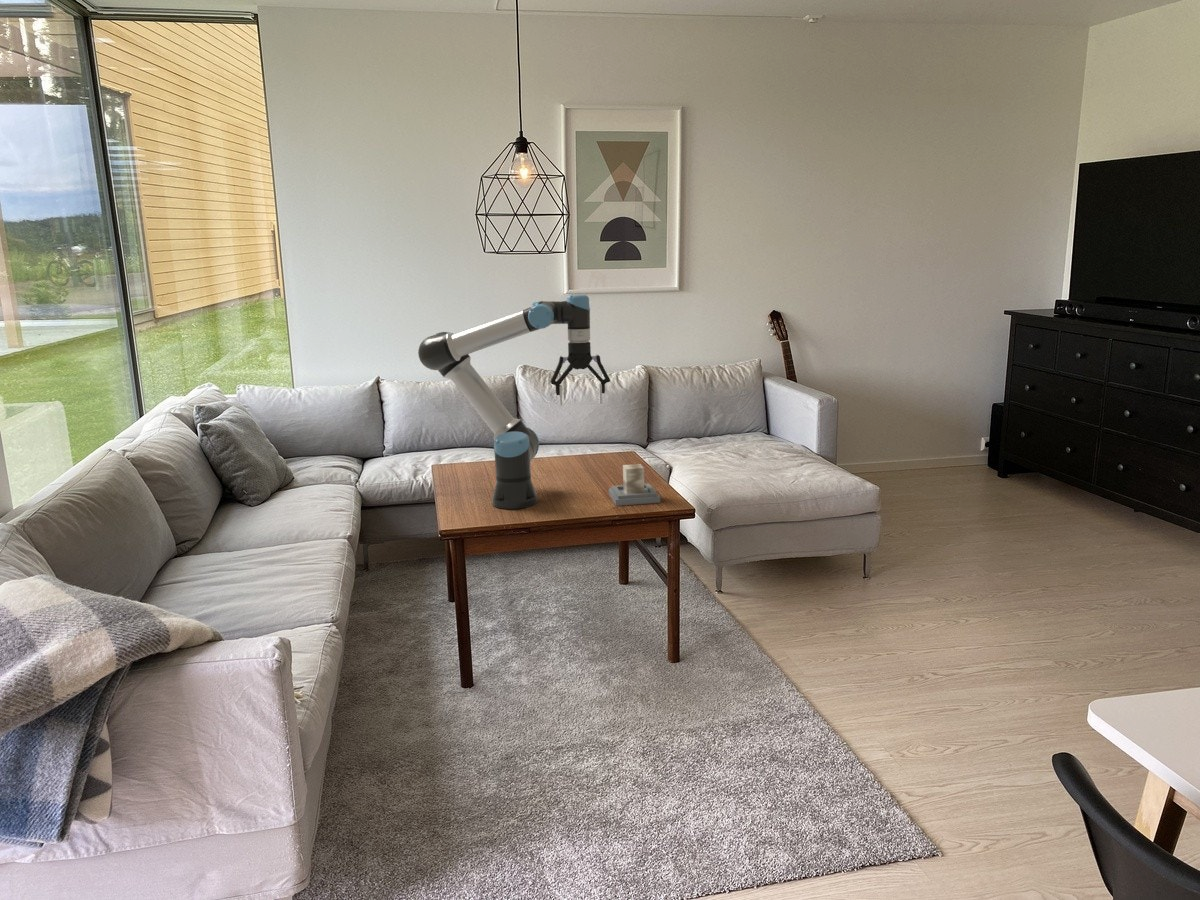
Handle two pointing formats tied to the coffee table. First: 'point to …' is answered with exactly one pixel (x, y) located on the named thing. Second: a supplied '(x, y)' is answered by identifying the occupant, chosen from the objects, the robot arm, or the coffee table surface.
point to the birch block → (633, 478)
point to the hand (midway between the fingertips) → (580, 403)
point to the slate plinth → (634, 496)
